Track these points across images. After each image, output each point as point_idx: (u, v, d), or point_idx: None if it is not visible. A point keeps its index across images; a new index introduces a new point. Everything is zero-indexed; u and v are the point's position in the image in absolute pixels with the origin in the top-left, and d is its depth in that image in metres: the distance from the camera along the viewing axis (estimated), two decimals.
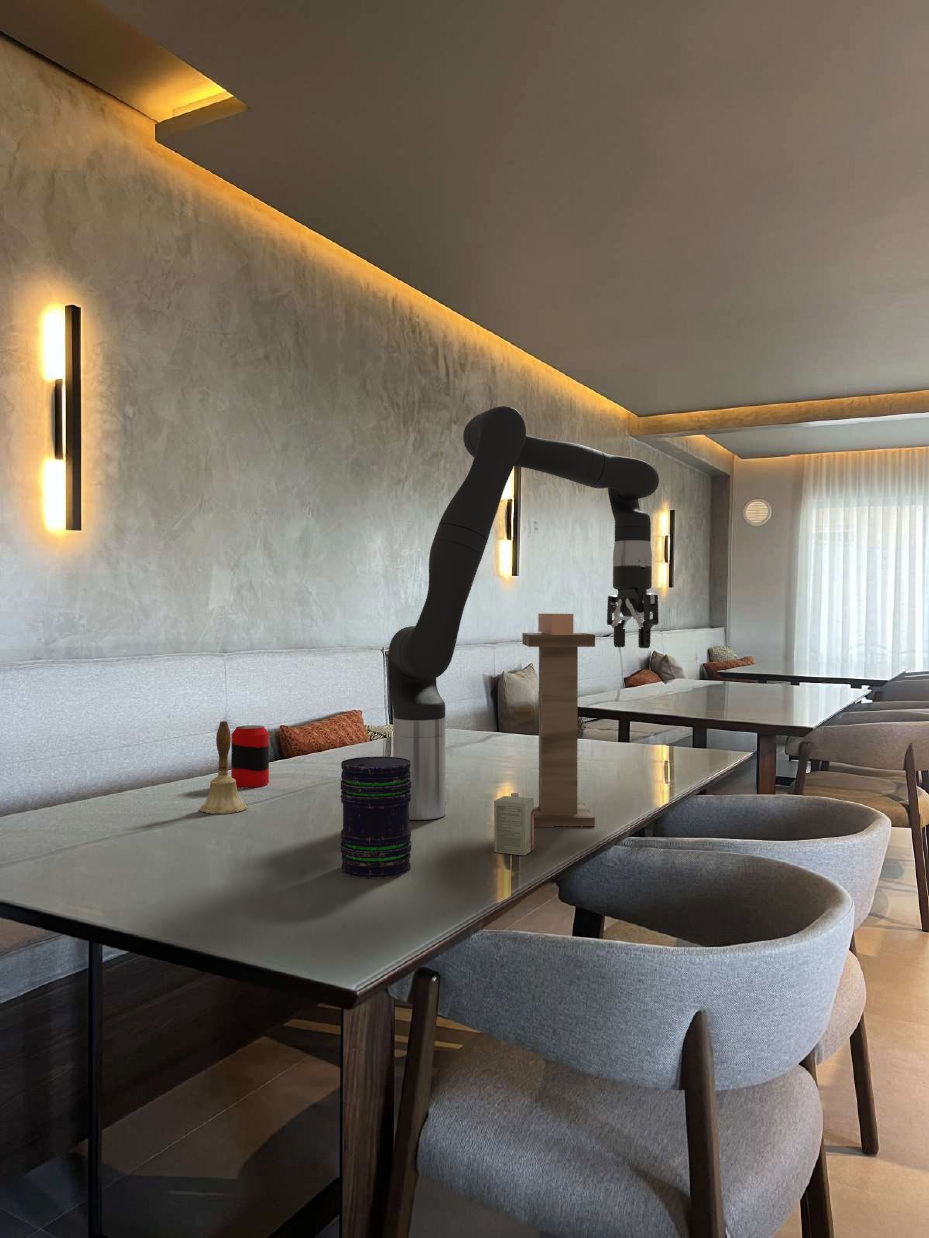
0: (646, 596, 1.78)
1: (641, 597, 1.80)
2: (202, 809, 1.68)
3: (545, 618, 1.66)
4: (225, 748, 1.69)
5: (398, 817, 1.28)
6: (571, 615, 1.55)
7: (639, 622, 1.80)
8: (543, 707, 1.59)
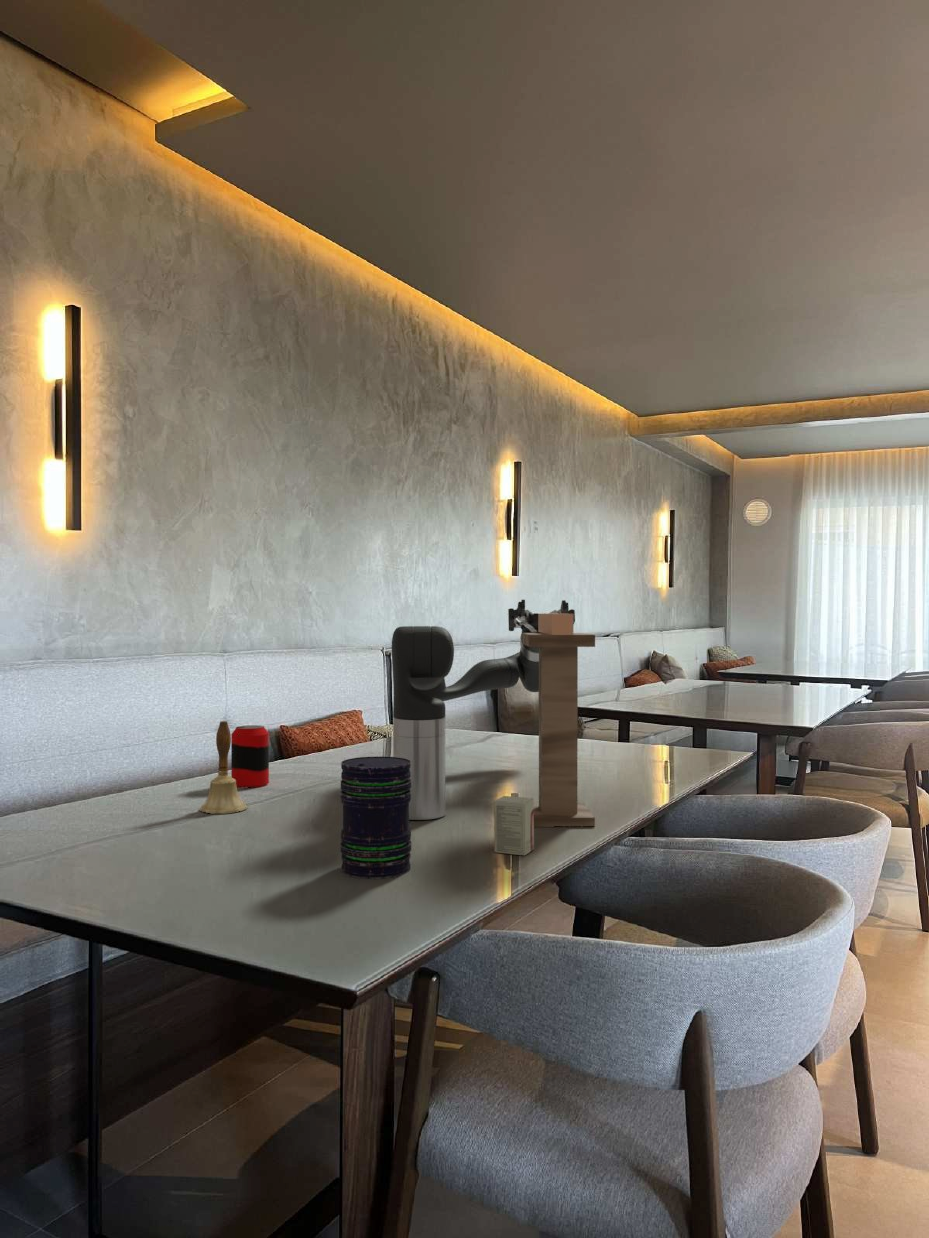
0: (509, 630, 2.04)
1: (520, 627, 2.05)
2: (202, 809, 1.68)
3: (545, 618, 1.66)
4: (225, 748, 1.69)
5: (398, 817, 1.28)
6: (571, 615, 1.55)
7: (521, 619, 2.00)
8: (543, 707, 1.59)
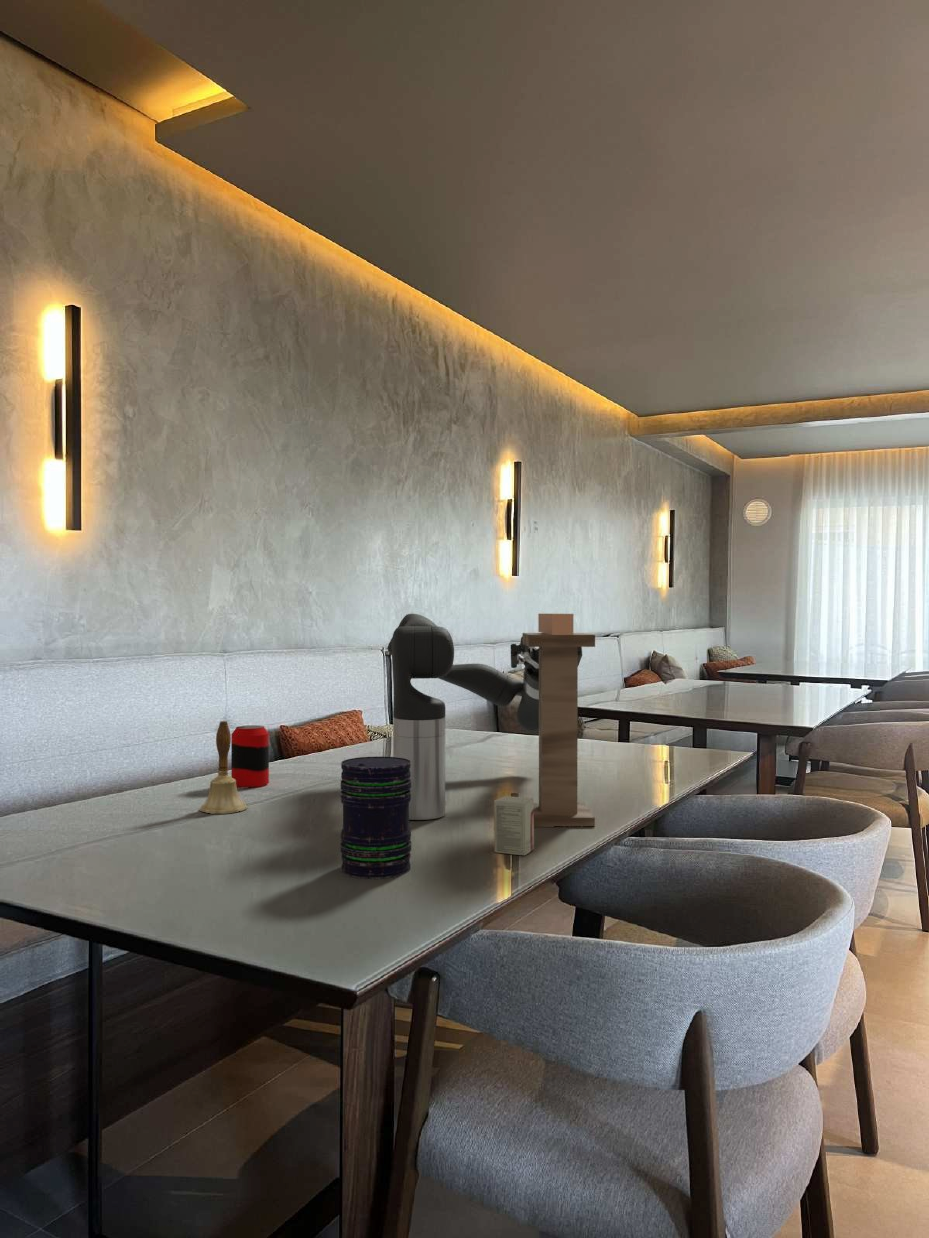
0: (512, 666, 1.91)
1: (524, 664, 1.91)
2: (202, 809, 1.68)
3: (545, 618, 1.66)
4: (225, 748, 1.69)
5: (398, 817, 1.28)
6: (571, 615, 1.55)
7: (525, 655, 1.87)
8: (543, 707, 1.59)
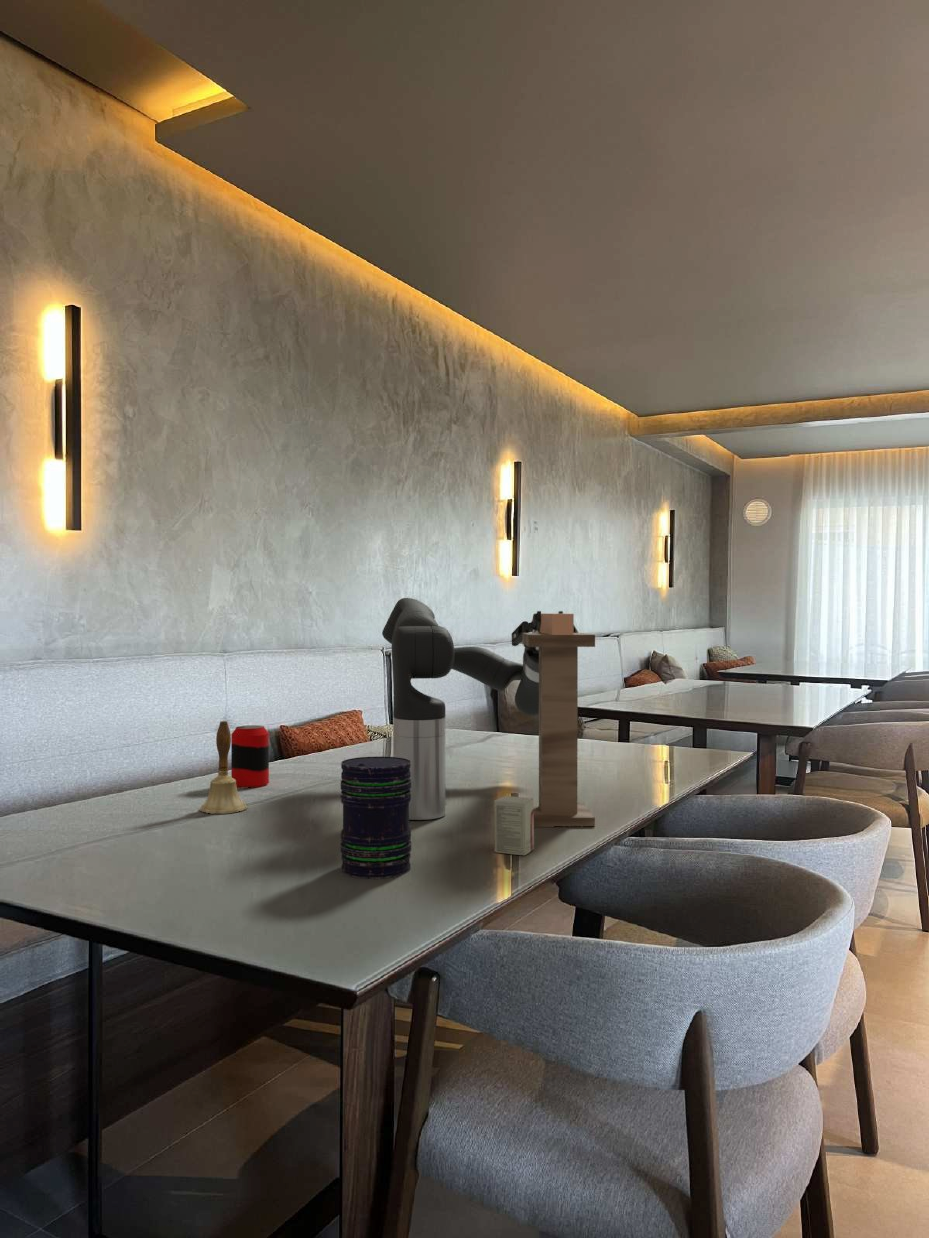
0: (513, 644, 1.82)
1: None
2: (202, 809, 1.68)
3: (545, 618, 1.66)
4: (225, 748, 1.69)
5: (398, 817, 1.28)
6: (571, 615, 1.55)
7: None
8: (543, 707, 1.59)
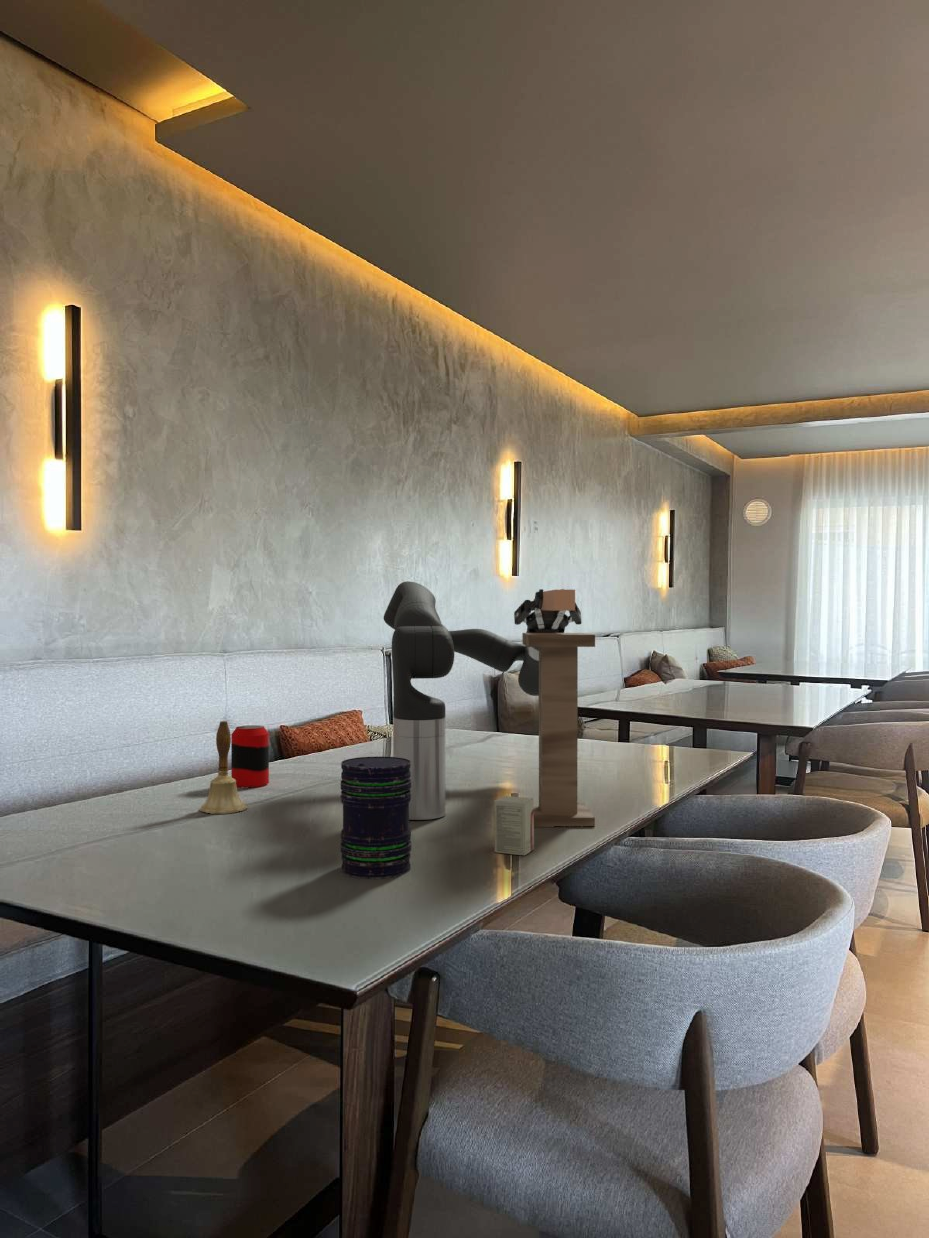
0: (515, 622, 1.84)
1: (526, 622, 1.86)
2: (202, 809, 1.68)
3: (547, 595, 1.68)
4: (225, 748, 1.69)
5: (398, 817, 1.28)
6: (573, 591, 1.58)
7: (537, 611, 1.81)
8: (543, 707, 1.59)
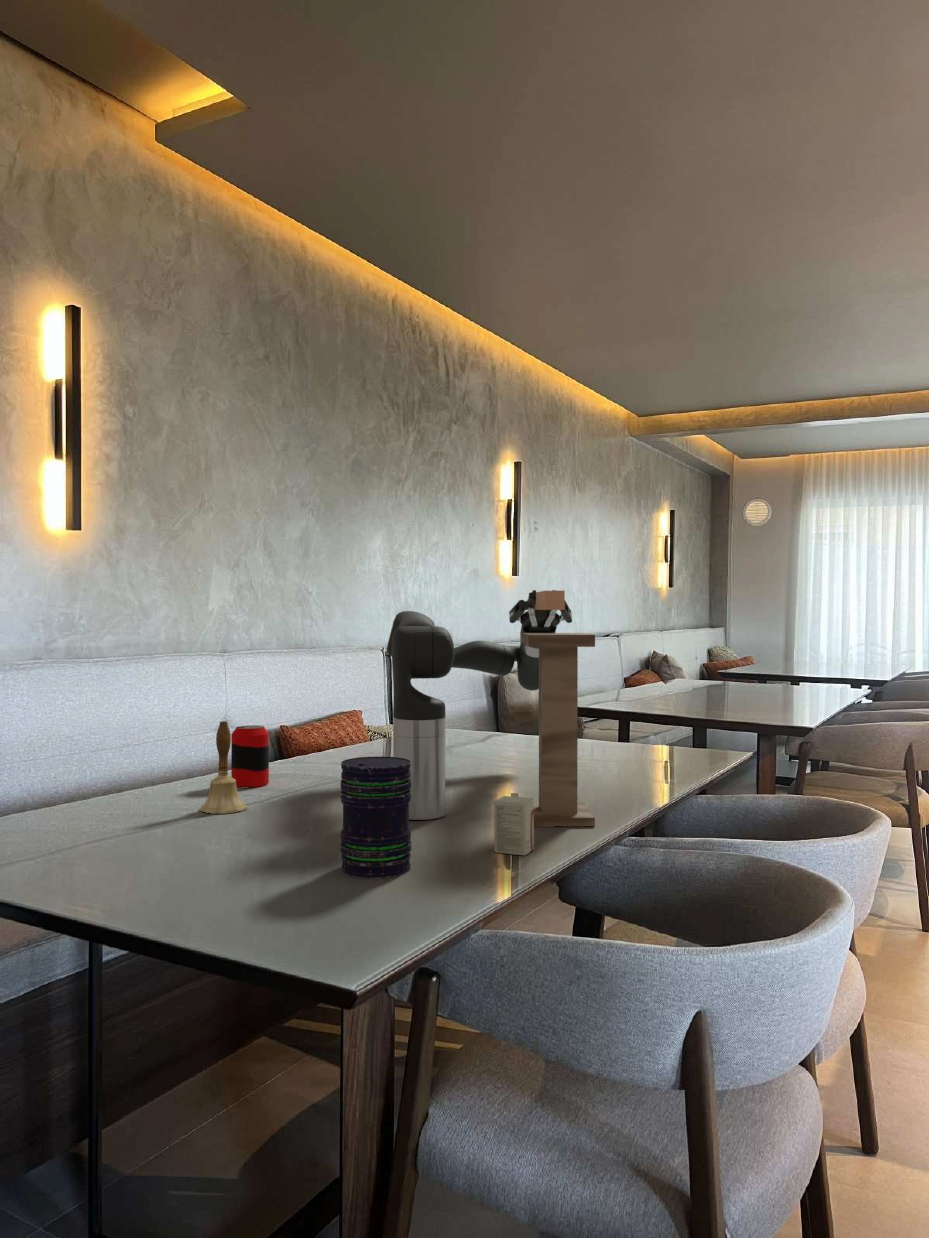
0: (510, 621, 1.98)
1: (521, 621, 1.99)
2: (202, 809, 1.68)
3: (539, 596, 1.82)
4: (225, 748, 1.69)
5: (398, 817, 1.28)
6: (562, 592, 1.71)
7: (531, 611, 1.94)
8: (543, 707, 1.59)
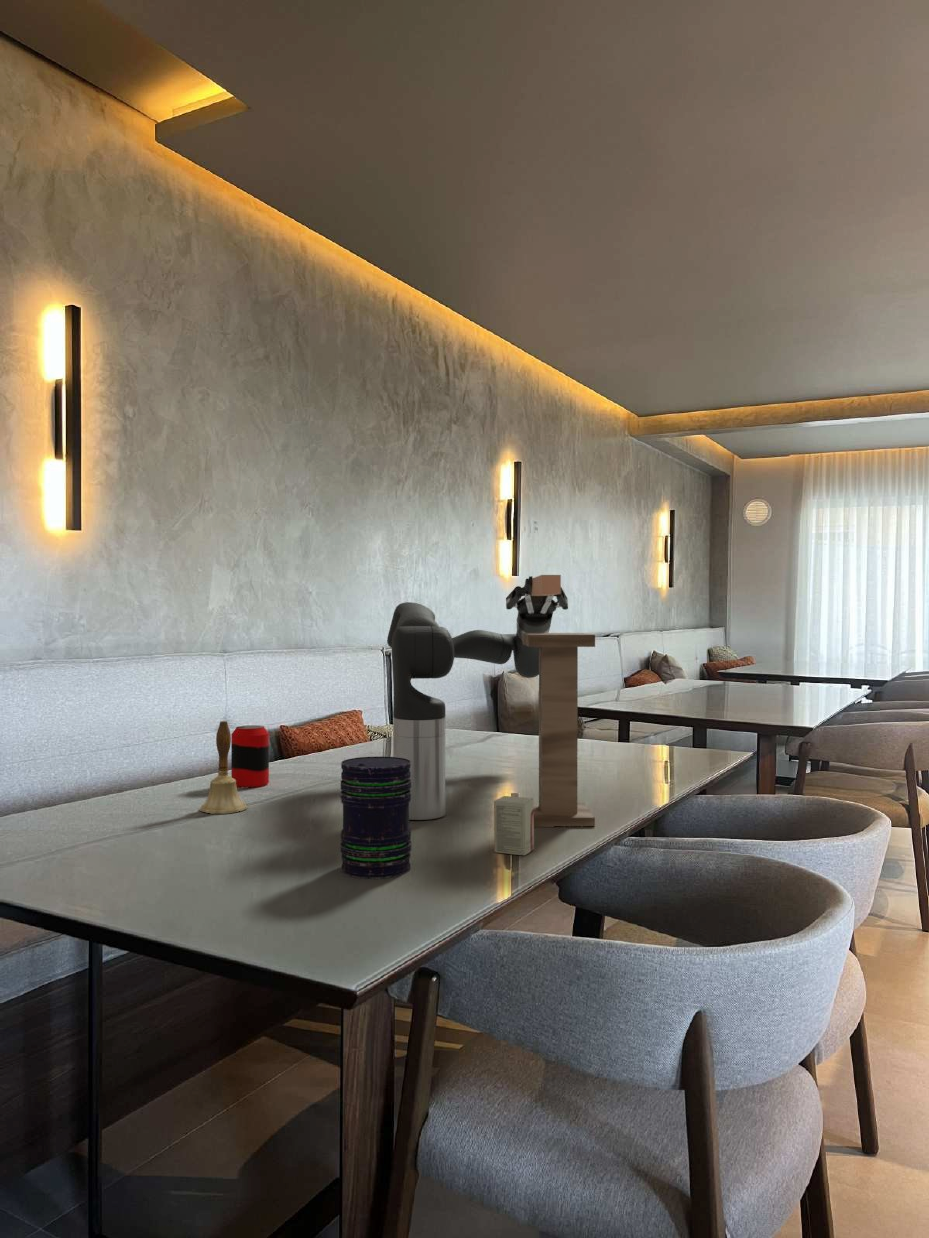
0: (507, 607, 2.00)
1: (517, 607, 2.01)
2: (202, 809, 1.68)
3: (536, 581, 1.84)
4: (225, 748, 1.69)
5: (398, 817, 1.28)
6: (558, 576, 1.73)
7: (527, 597, 1.96)
8: (543, 707, 1.59)
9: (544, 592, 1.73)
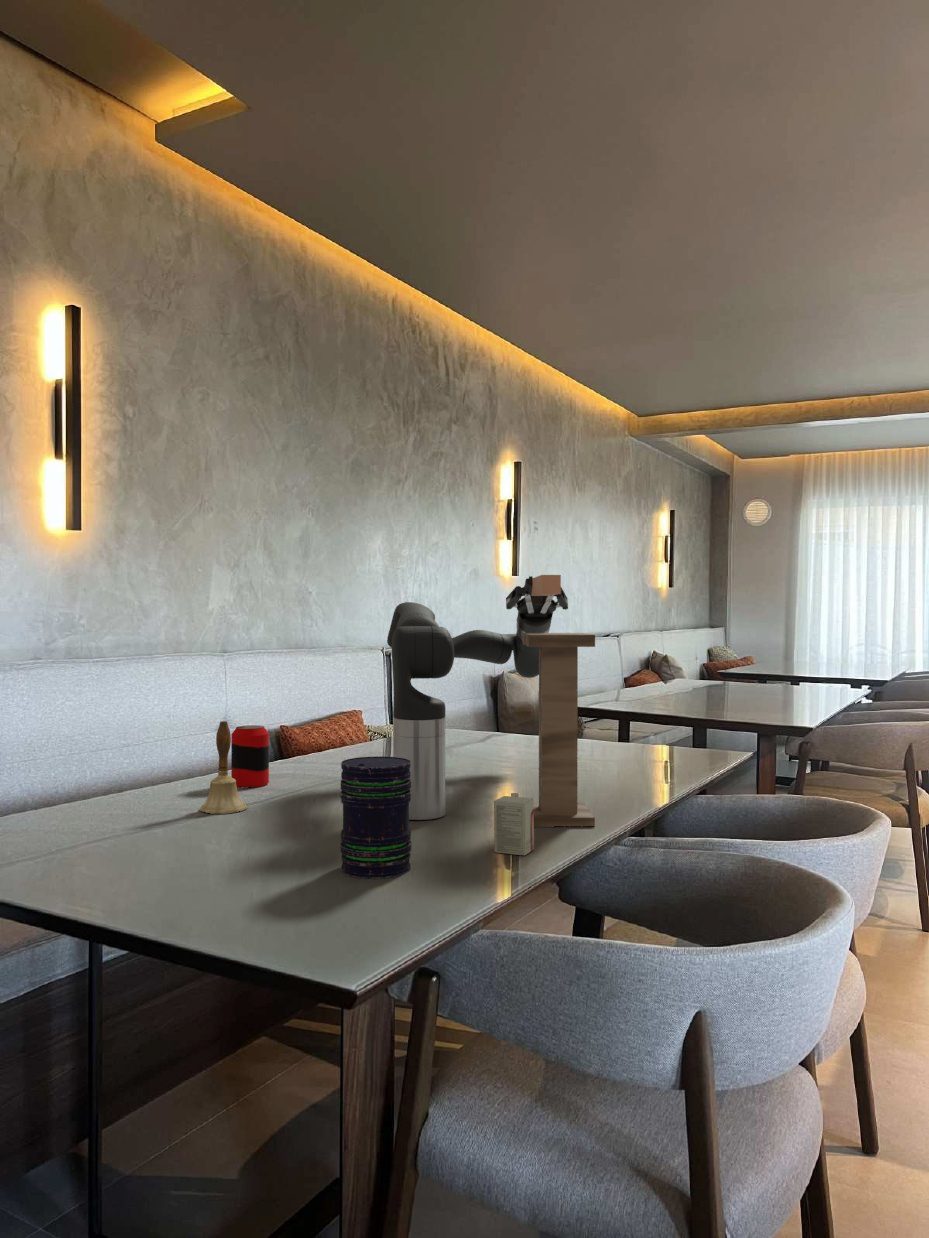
0: (507, 607, 2.00)
1: (517, 607, 2.01)
2: (202, 809, 1.68)
3: (536, 581, 1.84)
4: (225, 748, 1.69)
5: (398, 817, 1.28)
6: (558, 576, 1.73)
7: (527, 597, 1.96)
8: (543, 707, 1.59)
9: (544, 592, 1.73)
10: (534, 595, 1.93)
